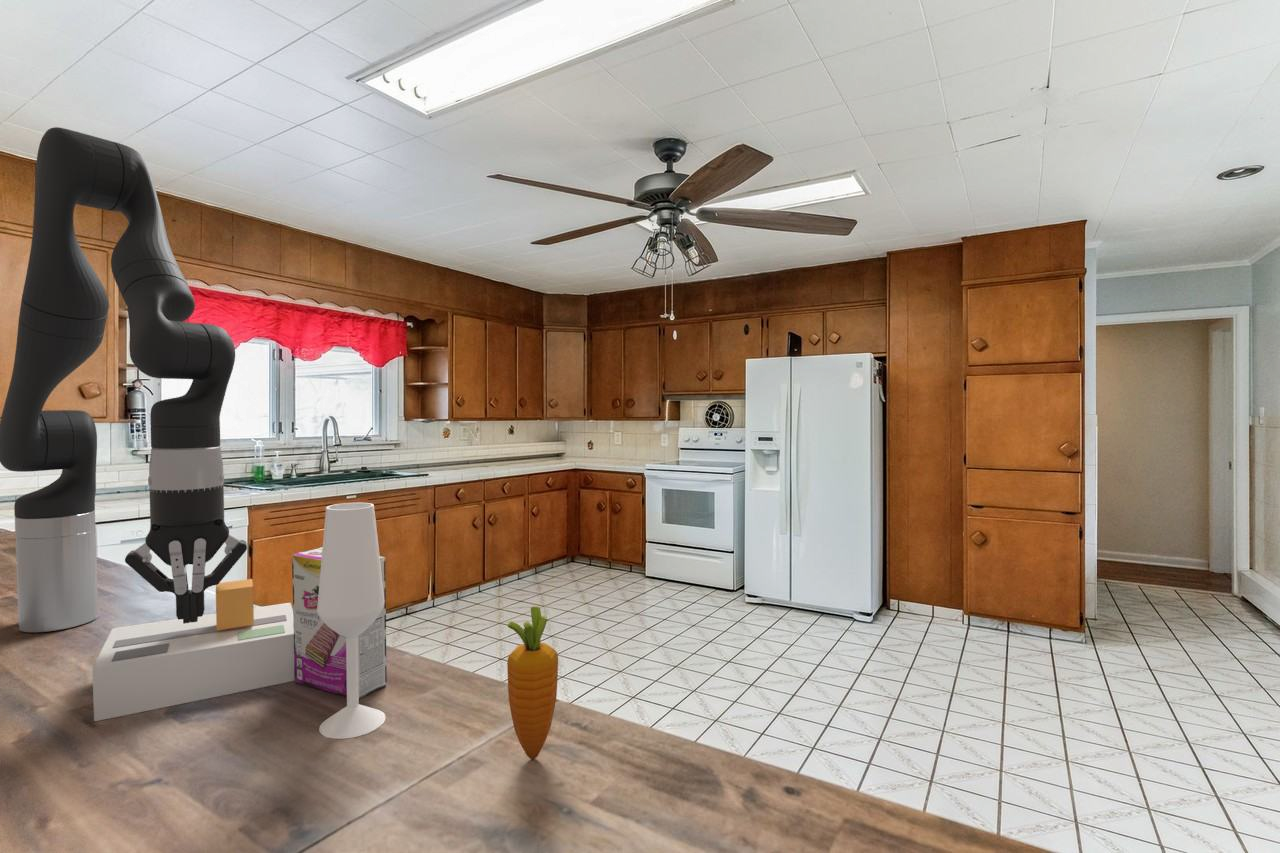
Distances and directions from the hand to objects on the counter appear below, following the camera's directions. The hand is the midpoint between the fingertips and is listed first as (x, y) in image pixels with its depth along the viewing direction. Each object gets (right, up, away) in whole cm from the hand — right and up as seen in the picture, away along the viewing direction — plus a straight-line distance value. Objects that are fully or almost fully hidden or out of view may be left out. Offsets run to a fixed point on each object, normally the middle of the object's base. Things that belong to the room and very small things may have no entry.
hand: (190, 620), depth 80 cm
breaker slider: (+4, -1, +3) cm, 5 cm away
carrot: (+46, -9, -17) cm, 49 cm away
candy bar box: (+19, -8, -1) cm, 21 cm away
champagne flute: (+25, -8, -10) cm, 28 cm away
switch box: (+1, -8, +1) cm, 8 cm away
